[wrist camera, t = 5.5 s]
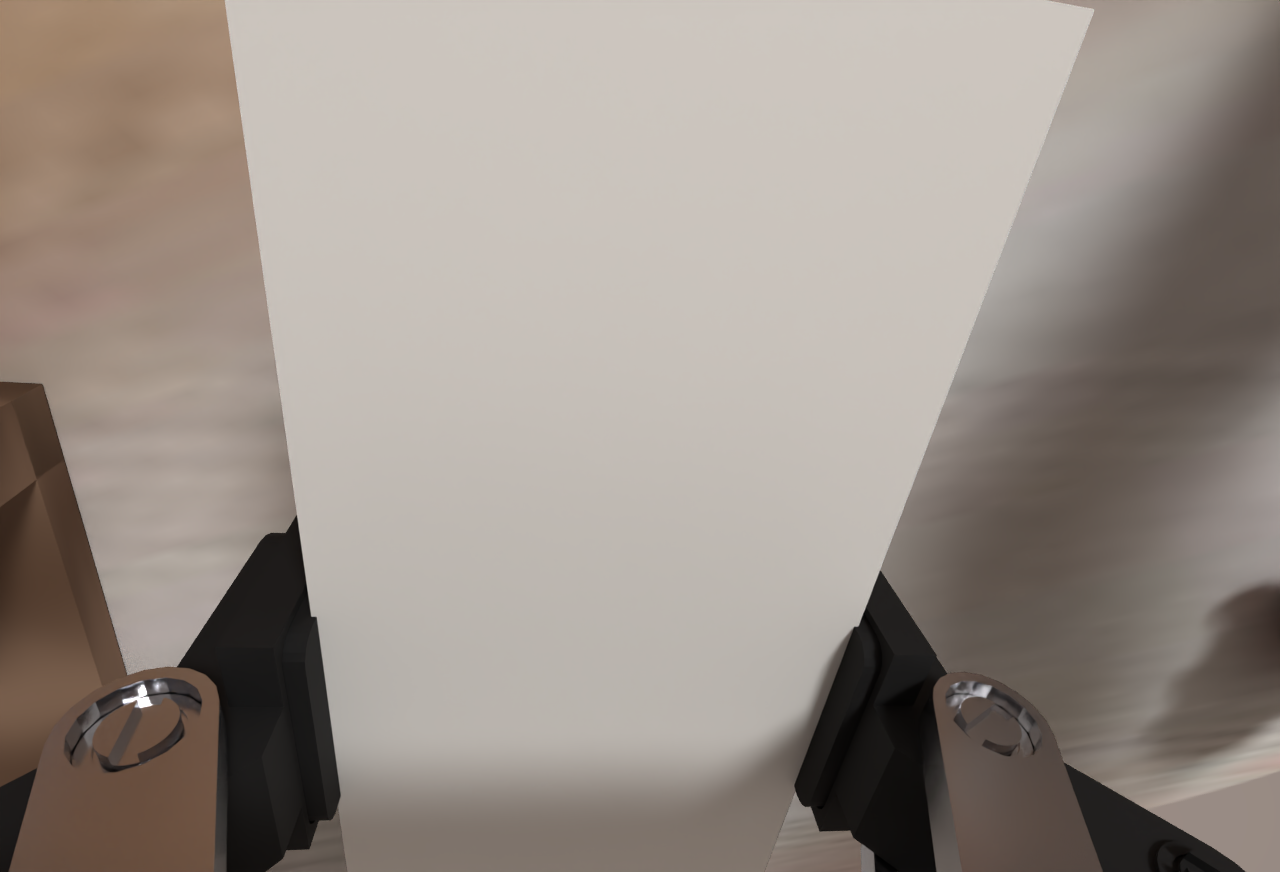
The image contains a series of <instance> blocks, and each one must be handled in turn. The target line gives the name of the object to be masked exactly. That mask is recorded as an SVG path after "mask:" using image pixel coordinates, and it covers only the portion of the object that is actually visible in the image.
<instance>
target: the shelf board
mask: <svg viewBox="0 0 1280 872" xmlns="http://www.w3.org/2000/svg"><path fill="white" fill-rule="evenodd" d="M225 5H226V12H227V19H228V26H229V34H230V41H231V48H232V55H233V62H234V69H235V76H236V84H237V91H238V98H239V105H240V112H241V119H242V126H243V133H244V141H245V148H246V155H247V162H248V169H249V176H250V183H251V190H252V198H253V205H254V212H255V219H256V226H257V233H258V240H259V247H260V255H261V262H262V269H263V276H264V283H265V290H266V297H267V305H268V312H269V319H270V326H271V333H272V340H273V347H274V354H275V362H276V369H277V376H278V383H279V390H280V397H281V404H282V411H283V419H284V426H285V433H286V440H287V447H288V454H289V461H290V468H291V476H292V483H293V490H294V497H295V504H296V511H297V518H298V526H299V533H300V540H301V547H302V554H303V561H304V568H305V575H306V583H307V590H308V597H309V604H310V611H311V617H317V623H318V630H319V638H320V645H321V653H322V660H323V667H324V675H325V682H326V690H327V697H328V704H329V712H330V719H331V727H332V734H333V741H334V749H335V756H336V763H337V771H338V778H339V786H340V793H341V797H340V800H339V804H338V811H339V818H340V825H341V832H342V839H343V846H344V853H345V861H346V868H347V872H765V869H766V866H767V864H768V861H769V859H770V856H771V853H772V851H773V848H774V846H775V843H776V840H777V838H778V835H779V832H780V830H781V827H782V825H783V822H784V819H785V817H786V814H787V812H788V809H789V806H790V804H791V801H792V799H793V796H794V793H795V791H796V790H795V787H794V784H795V782H796V779H797V776H798V774H799V771H800V768H801V766H802V763H803V761H804V758H805V755H806V753H807V750H808V747H809V745H810V742H811V739H812V737H813V734H814V731H815V729H816V726H817V724H818V721H819V718H820V716H821V713H822V710H823V708H824V705H825V702H826V700H827V697H828V695H829V692H830V689H831V687H832V684H833V681H834V679H835V676H836V673H837V671H838V668H839V666H840V663H841V660H842V658H843V655H844V652H845V650H846V647H847V644H848V642H849V639H850V637H851V634H852V631H853V629H854V626H855V627H858V626H859V624H860V621H861V618H862V616H863V613H864V611H865V608H866V605H867V603H868V600H869V598H870V595H871V592H872V590H873V587H874V585H875V582H876V579H877V577H878V574H879V571H880V569H881V566H882V564H883V561H884V558H885V556H886V553H887V551H888V548H889V545H890V543H891V540H892V538H893V535H894V532H895V530H896V527H897V524H898V522H899V519H900V517H901V514H902V511H903V509H904V506H905V504H906V501H907V498H908V496H909V493H910V491H911V488H912V485H913V483H914V480H915V477H916V475H917V472H918V470H919V467H920V464H921V462H922V459H923V457H924V454H925V451H926V449H927V446H928V444H929V441H930V438H931V436H932V433H933V431H934V428H935V425H936V423H937V420H938V417H939V415H940V412H941V410H942V407H943V404H944V402H945V399H946V397H947V394H948V391H949V389H950V386H951V384H952V381H953V378H954V376H955V373H956V370H957V368H958V365H959V363H960V360H961V357H962V355H963V352H964V350H965V347H966V344H967V342H968V339H969V337H970V334H971V331H972V329H973V326H974V323H975V321H976V318H977V316H978V313H979V310H980V308H981V305H982V303H983V300H984V297H985V295H986V292H987V290H988V287H989V284H990V282H991V279H992V276H993V274H994V271H995V269H996V266H997V263H998V261H999V258H1000V256H1001V253H1002V250H1003V248H1004V245H1005V243H1006V240H1007V237H1008V235H1009V232H1010V230H1011V227H1012V224H1013V222H1014V219H1015V216H1016V214H1017V211H1018V209H1019V206H1020V203H1021V201H1022V198H1023V196H1024V193H1025V190H1026V188H1027V185H1028V183H1029V180H1030V177H1031V175H1032V172H1033V169H1034V167H1035V164H1036V162H1037V159H1038V156H1039V154H1040V151H1041V149H1042V146H1043V143H1044V141H1045V138H1046V136H1047V133H1048V130H1049V128H1050V125H1051V122H1052V120H1053V117H1054V115H1055V112H1056V109H1057V107H1058V104H1059V102H1060V99H1061V96H1062V94H1063V91H1064V89H1065V86H1066V83H1067V81H1068V78H1069V76H1070V73H1071V70H1072V68H1073V65H1074V62H1075V60H1076V57H1077V55H1078V52H1079V49H1080V47H1081V44H1082V42H1083V39H1084V36H1085V34H1086V31H1087V29H1088V26H1089V23H1090V21H1091V18H1092V15H1093V13H1094V10H1095V9H1090V8H1085V7H1079V6H1074V5H1069V4H1064V3H1058V2H1053V1H1048V0H225Z"/></svg>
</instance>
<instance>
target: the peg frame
mask: <svg viewBox="0 0 1280 872" xmlns="http://www.w3.org/2000/svg"><path fill="white" fill-rule="evenodd" d="M124 676H127V674H126V671H125V667H124V664H123V660H122V657H121V653H120V650H119V647H118V643H117V640H116V636H115V633H114V629H113V626H112V623H111V619H110V616H109V612H108V609H107V605H106V602H105V599H104V595H103V592H102V588H101V585H100V581H99V578H98V574H97V571H96V568H95V564H94V561H93V557H92V554H91V550H90V547H89V544H88V540H87V537H86V533H85V530H84V526H83V523H82V520H81V516H80V513H79V509H78V506H77V502H76V499H75V495H74V492H73V489H72V485H71V482H70V478H69V475H68V471H67V468H66V465H65V461H64V458H63V454H62V451H61V447H60V444H59V441H58V437H57V434H56V430H55V427H54V423H53V420H52V417H51V413H50V410H49V406H48V403H47V399H46V396H45V392H44V389H43V386H42V384H32V383H13V382H0V787H1V786H3V785H5V784H7V783H9V782H11V781H13V780H15V779H17V778H19V777H21V776H23V775H25V774H26V773H28V772H30V771H32V770H34V769H36V768H38V765H39V761H40V758H41V754H42V750H43V747H44V745H45V743H46V740H47V738H48V736H49V734H50V732H51V730H52V728H53V726H54V725H55V724H56V723H57V722H58V721H59V720H60V719H61V718H62V717H63V716H64V714H65V713H66V712H67V711H68V710H69V709H70V708H71V707H72V706H74V705H75V704H76V703H78V702H79V701H80V700H82V699H83V698H85V697H86V696H87V695H89V694H90V693H91V692H93V691H94V690H96V689H98V688H100V687H102V686H104V685H106V684H108V683H110V682H112V681H114V680H116V679H118V678H121V677H124Z"/></svg>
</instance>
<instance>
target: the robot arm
mask: <svg viewBox="0 0 1280 872" xmlns="http://www.w3.org/2000/svg"><path fill="white" fill-rule="evenodd" d="M936 656H937V655H936V654H935V652H934V651H933V649H932V647H931V646H930V644H929V643H928V641H927V640H926V638H925V637H924V635H923V634H922V632H921V631H920V629H919V628H918V626H917V625H916V623H915V622H914V620H913V619H912V617H911V616H910V614H909V613H908V611H907V610H906V608H905V607H904V605H903V604H902V602H901V601H900V599H899V598H898V596H897V595H896V593H895V592H894V590H893V589H892V587H891V586H890V584H889V583H888V581H887V580H886V578H885V577H884V575H883V574H882V572H881V571H879V574H878V577H877V579H876V582H875V585H874V587H873V590H872V592H871V595H870V598H869V600H868V603H867V605H866V608H865V611H864V613H863V616H862V618H861V621H860V624H859V626H858V627H855V626H854V629H853V631H852V634H851V637H850V639H849V642H848V644H847V647H846V650H845V652H844V655H843V658H842V660H841V663H840V666H839V668H838V671H837V673H836V676H835V679H834V681H833V684H832V687H831V689H830V692H829V695H828V697H827V700H826V702H825V705H824V708H823V710H822V713H821V716H820V718H819V721H818V724H817V726H816V729H815V731H814V734H813V737H812V739H811V742H810V745H809V747H808V750H807V753H806V755H805V758H804V761H803V763H802V766H801V768H800V771H799V774H798V776H797V779H796V782H795V784H794V787H795V790H796V793H797V796H798V798H799V801H800V802H801V804H802V805H803V806H805V807H811V808H812V811H813V814H814V817H815V820H816V823H817V825H818V828H819V831H848V830H850V831H851V833H852V836H853V838H855V839H856V840H857V841H859V842H860V843H861V871H862V872H1245V871H1244V870H1243V869H1242V868H1240V867H1239V866H1238V865H1237V864H1236V863H1235V862H1233V861H1232V860H1230V859H1229V858H1227V857H1225V856H1224V855H1223V854H1221V853H1220V852H1218V851H1217V850H1215V849H1214V848H1212V847H1211V846H1209V845H1207V844H1205V843H1204V842H1202V841H1200V840H1198V839H1197V838H1195V837H1193V836H1191V835H1189V834H1188V833H1186V832H1184V831H1183V830H1181V829H1179V828H1177V827H1175V826H1174V825H1172V824H1170V823H1169V822H1167V821H1165V820H1163V819H1162V818H1160V817H1158V816H1156V815H1155V814H1153V813H1151V812H1149V811H1148V810H1146V809H1144V808H1142V807H1141V806H1139V805H1137V804H1135V803H1134V802H1132V801H1130V800H1128V799H1127V798H1125V797H1123V796H1121V795H1120V794H1118V793H1116V792H1115V791H1113V790H1111V789H1109V788H1108V787H1106V786H1104V785H1102V784H1101V783H1099V782H1097V781H1095V780H1094V779H1092V778H1090V777H1088V776H1087V775H1085V774H1083V773H1081V772H1080V771H1078V770H1076V769H1074V768H1073V767H1071V766H1069V765H1067V764H1066V763H1064V762H1063V759H1062V756H1061V754H1060V751H1059V748H1058V745H1057V742H1056V740H1055V737H1054V734H1053V733H1052V731H1051V729H1050V727H1049V725H1048V723H1047V721H1046V720H1045V719H1044V717H1043V716H1042V715H1041V714H1040V713H1039V712H1038V710H1037V709H1036V708H1035V707H1034V706H1033V705H1032V704H1031V703H1030V702H1028V701H1027V700H1026V699H1025V698H1024V697H1022V696H1021V695H1020V694H1019V693H1017V692H1016V691H1014V690H1012V689H1011V688H1009V687H1007V686H1006V685H1004V684H1002V683H1000V682H998V681H996V680H993V679H991V678H988V677H985V676H983V675H979V674H973V673H968V672H957V673H949V674H947V673H946V671H945V670H944V668H943V667H942V665H941V664H940V662H939V661H938V659H937V658H936ZM340 797H341V793H340V786H339V778H338V771H337V763H336V756H335V749H334V741H333V734H332V727H331V719H330V712H329V704H328V697H327V690H326V682H325V675H324V667H323V660H322V653H321V645H320V638H319V630H318V623H317V617H311V611H310V604H309V597H308V590H307V583H306V575H305V568H304V561H303V554H302V547H301V540H300V533H299V526H298V518H297V516H296V517H295V519H294V521H293V522H292V524H291V525H290V527H289V529H288V530H287V532H286V533H270V534H267V535H266V536H265V537H264V538H263V539H262V540H261V541H260V543H259V544H258V546H257V547H256V549H255V550H254V552H253V553H252V555H251V556H250V558H249V559H248V561H247V562H246V564H245V565H244V567H243V568H242V570H241V571H240V573H239V574H238V576H237V577H236V579H235V580H234V582H233V583H232V585H231V586H230V588H229V589H228V591H227V592H226V594H225V595H224V597H223V598H222V600H221V601H220V603H219V605H218V606H217V608H216V609H215V611H214V612H213V614H212V615H211V617H210V618H209V620H208V621H207V623H206V624H205V626H204V627H203V629H202V630H201V632H200V633H199V635H198V636H197V638H196V639H195V641H194V642H193V644H192V645H191V647H190V648H189V650H188V651H187V653H186V654H185V656H184V657H183V659H182V660H181V662H180V663H179V665H178V666H177V667H163V668H156V669H149V670H143V671H140V672H137V673H134V674H131V675H127V676H124V677H121V678H118V679H116V680H114V681H112V682H110V683H108V684H106V685H104V686H102V687H100V688H98V689H96V690H94V691H93V692H91V693H90V694H89V695H87V696H86V697H85V698H83V699H82V700H80V701H79V702H78V703H76V704H75V705H74V706H72V707H71V708H70V709H69V710H68V711H67V712H66V713H65V714H64V716H63V717H62V718H61V719H60V720H59V721H58V722H57V723H56V724H55V725H54V726H53V728H52V730H51V732H50V734H49V736H48V738H47V740H46V743H45V745H44V747H43V750H42V754H41V758H40V761H39V765H38V768H36V769H34V770H32V771H30V772H28V773H26V774H25V775H23V776H21V777H19V778H17V779H15V780H13V781H11V782H9V783H7V784H5V785H3V786H1V787H0V872H266V871H267V870H268V869H270V868H271V867H272V866H274V865H275V864H276V863H278V862H279V861H280V860H282V859H283V857H284V854H285V852H286V850H301V849H310V846H311V842H312V839H313V836H314V833H315V830H316V827H317V824H318V821H319V820H331V819H332V818H333V816H334V815H335V812H336V810H337V807H338V804H339V800H340Z"/></svg>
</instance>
